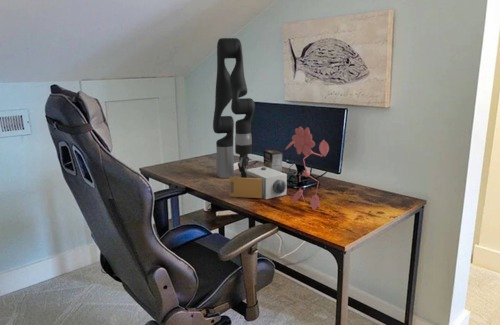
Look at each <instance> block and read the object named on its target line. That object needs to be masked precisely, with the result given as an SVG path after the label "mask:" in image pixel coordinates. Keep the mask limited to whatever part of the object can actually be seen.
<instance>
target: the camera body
mask: <svg viewBox="0 0 500 325" xmlns="http://www.w3.org/2000/svg"><path fill="white" fill-rule="evenodd" d="M246 178H258V179H264V198H263V199H264V200H268V199H272V198H273V199H274V198H279V197H282V196H287V191H288V190H287V188H288V184H287V181H288V174H287V173H284V172H283V171H282V172H279V171H276V170H274V169H271V168H268V167H265V166H264V165H263V166H257V167H254V168H253V167H252V168H248V169H247V172H246Z"/></svg>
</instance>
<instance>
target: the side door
mask: <svg viewBox="0 0 500 325" xmlns="http://www.w3.org/2000/svg"><path fill="white" fill-rule="evenodd" d="M228 179H229V197H232V198H233V197H234V198H235V197H236V198H252V199H253V198H255V199H264V179H258V178H241V176H239V177H238V176H237V177H236V176H233V177H230V178H228Z"/></svg>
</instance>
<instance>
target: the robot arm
mask: <svg viewBox="0 0 500 325" xmlns="http://www.w3.org/2000/svg"><path fill="white" fill-rule="evenodd" d="M216 45H217V46H216V79H215V80H216V81H215V96H214V98H215V99H214V101H215V102H214V112H213V119H212V122H213V123H212V129H213V132H214V133H215V134H226V135H224V136H223V137H221V138H220V139H217V140H216V147H215V148H216V176H217V178H220V179H229V178H230V177H235V176H234V175H235V174H234V173H235V170H234V169H235V166H234V165H235V164H234V163H235V162H234V161H235V160H234V157H235V156H234V152H235V154H236V155H239V157H238V163H237V166H238V171H239V173H240V178H246V172H247V169H249V163H250V162H249V161H250V157H249V155H250V154H252V153H253V151H252V150H253V148H252V146H253V142H252V141H253V140H252V139H253V137H252V120H253V117H254V112H255V110H256V103H255V101H254V100H253V98H248V97H247V98H245V96H246V95H247V94H248V87H247V82H246V78H245V72H244V70H245V69H244V68H245V67H244V58H243V57H244V56H243V47H242V42H241V41H240V39H239V38H237V37H228V38H227V37H221V38H219V39H218V41H217V44H216ZM227 59H235V65H234V66H233V69H232V71H231V73H230V72H229V71H228V69H227V67H226V63H225V60H227ZM242 97H244V98H242ZM230 102H231V103H230ZM229 104H230V109H231V112H232V113H233V115H244V117H243V118H240V119H237V120H236V121H235V122H234V117H233V116H231V115H222V114H223V112H224V110H225V109H226V108H227V106H228V105H229ZM234 125H235V126H234ZM234 128H235V137H234Z"/></svg>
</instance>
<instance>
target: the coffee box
mask: <svg viewBox="0 0 500 325" xmlns="http://www.w3.org/2000/svg"><path fill="white" fill-rule="evenodd" d="M263 166H265V167H268V168H271V169H274V170H276V171H279V172H282V173H283V171H282V170H283V169H282V168H283V152H281V151H278V150H275V149H266V150H265V149H264V150H263Z"/></svg>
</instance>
